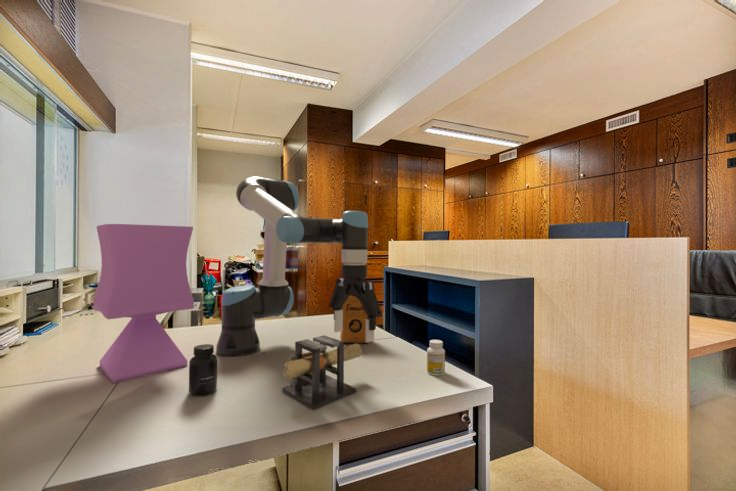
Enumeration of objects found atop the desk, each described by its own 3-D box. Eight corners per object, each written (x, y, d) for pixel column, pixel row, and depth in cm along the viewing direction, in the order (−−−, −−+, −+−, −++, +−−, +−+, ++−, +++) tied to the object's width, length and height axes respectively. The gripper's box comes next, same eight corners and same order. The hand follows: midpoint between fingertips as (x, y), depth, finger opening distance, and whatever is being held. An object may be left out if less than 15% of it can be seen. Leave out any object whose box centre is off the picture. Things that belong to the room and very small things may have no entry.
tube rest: (290, 376, 100) (290, 356, 100) (312, 370, 106) (312, 350, 106) (302, 383, 96) (303, 362, 96) (325, 375, 101) (325, 355, 101)
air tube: (293, 376, 83) (288, 359, 85) (286, 381, 85) (281, 365, 87) (364, 354, 100) (358, 340, 101) (356, 359, 102) (350, 346, 104)
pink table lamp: (193, 365, 109) (194, 226, 109) (107, 386, 93) (108, 223, 93) (170, 350, 125) (171, 228, 125) (93, 366, 108) (93, 226, 108)
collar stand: (282, 391, 90) (282, 341, 90) (324, 377, 100) (324, 332, 100) (313, 410, 80) (313, 353, 80) (356, 392, 90) (356, 342, 90)
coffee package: (370, 345, 132) (370, 289, 132) (338, 344, 133) (339, 288, 133) (371, 338, 142) (371, 286, 142) (341, 337, 143) (342, 285, 143)
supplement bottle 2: (433, 368, 108) (433, 337, 108) (448, 372, 104) (448, 341, 104) (423, 372, 104) (423, 341, 104) (438, 377, 101) (438, 345, 101)
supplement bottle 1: (205, 398, 86) (206, 351, 86) (182, 395, 88) (182, 349, 88) (222, 387, 93) (222, 343, 93) (200, 384, 94) (200, 342, 94)
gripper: (395, 266, 93) (393, 343, 93) (337, 261, 111) (336, 325, 111) (376, 267, 88) (375, 348, 88) (318, 262, 105) (317, 329, 106)
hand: (353, 336), depth 99 cm, fingers open, 13 cm apart
